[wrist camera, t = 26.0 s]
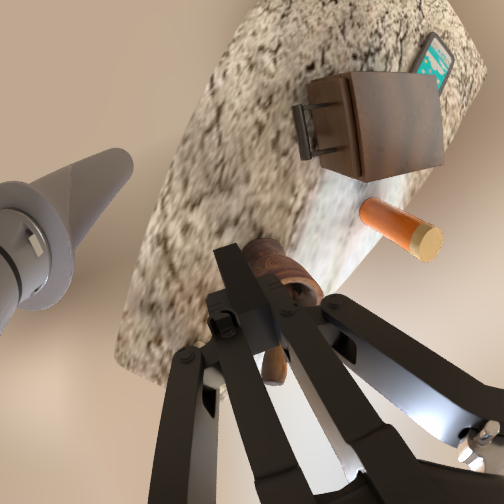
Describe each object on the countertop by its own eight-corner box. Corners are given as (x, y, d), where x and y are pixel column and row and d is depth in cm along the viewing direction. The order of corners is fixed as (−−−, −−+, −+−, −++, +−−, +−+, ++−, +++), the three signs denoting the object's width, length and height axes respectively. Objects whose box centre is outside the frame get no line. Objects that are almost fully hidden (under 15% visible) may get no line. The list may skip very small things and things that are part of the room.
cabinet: (325, 168, 42) (366, 183, 33) (310, 80, 36) (350, 71, 26) (400, 153, 44) (444, 164, 35) (390, 77, 38) (436, 75, 28)
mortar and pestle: (272, 301, 50) (321, 388, 32) (223, 296, 47) (255, 393, 29) (293, 239, 46) (363, 313, 28) (241, 230, 43) (290, 309, 25)
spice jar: (355, 222, 47) (413, 261, 34) (364, 193, 45) (427, 224, 32) (377, 227, 49) (434, 264, 36) (385, 200, 47) (447, 230, 34)
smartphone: (456, 59, 37) (435, 108, 40) (453, 59, 38) (432, 107, 41) (433, 28, 33) (409, 76, 37) (430, 29, 34) (406, 76, 38)
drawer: (290, 174, 40) (318, 187, 32) (273, 89, 34) (299, 80, 27) (394, 152, 43) (430, 161, 35) (384, 80, 37) (422, 78, 29)
